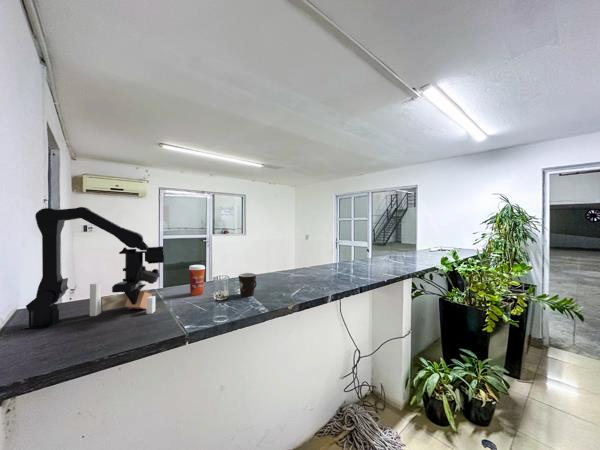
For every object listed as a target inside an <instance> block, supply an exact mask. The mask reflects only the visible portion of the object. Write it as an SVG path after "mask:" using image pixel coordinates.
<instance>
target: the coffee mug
mask: <svg viewBox="0 0 600 450" xmlns="http://www.w3.org/2000/svg"><path fill="white" fill-rule="evenodd" d="M256 279H257V274H256V273H253V272H244V273H239V274H238V282H239V283H238V284H239V293H240V294H239V295H240V297H245V298H249V297H253V296H254V293H255V289H256V288H257V281H256Z"/></svg>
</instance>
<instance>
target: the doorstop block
mask: <svg viewBox="0 0 600 450" xmlns="http://www.w3.org/2000/svg"><path fill="white" fill-rule="evenodd" d="M150 296H153V295H152V293H149V292H148V293H147V292H144V291H140V293H139V296H138V299H137V302H136V304H135V305H132V303H131V302H130V300H129V298H128V299H127V302H126V304H125V306H124V307H125V308H130V309H131V310H132V309H133V310H134V309H135V310H136V309H137V310H147V298H148V297H150Z"/></svg>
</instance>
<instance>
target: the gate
mask: <svg viewBox="0 0 600 450" xmlns="http://www.w3.org/2000/svg"><path fill="white" fill-rule="evenodd" d="M140 291H144V292H147V293H149V289H148V288H147V289H141V290H140ZM127 299H128V297H127V295H126V294H125V293H124V292H123V293H120V294H114V295H107V296H103V297H102V296H101V312H102V311H103V312H105V311H109V310H114V309H117V308H122V307H125V304H126V302H127Z"/></svg>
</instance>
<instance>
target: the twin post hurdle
mask: <svg viewBox="0 0 600 450" xmlns="http://www.w3.org/2000/svg"><path fill="white" fill-rule="evenodd" d="M154 312H156V295H151V296H150V297H148V298H147V309H146V315H148V314H150V315H151V314H154ZM101 313H102V282H100V281H96V282H93V283H90V284H89V317H97V316H99V315H100V314H101Z"/></svg>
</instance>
